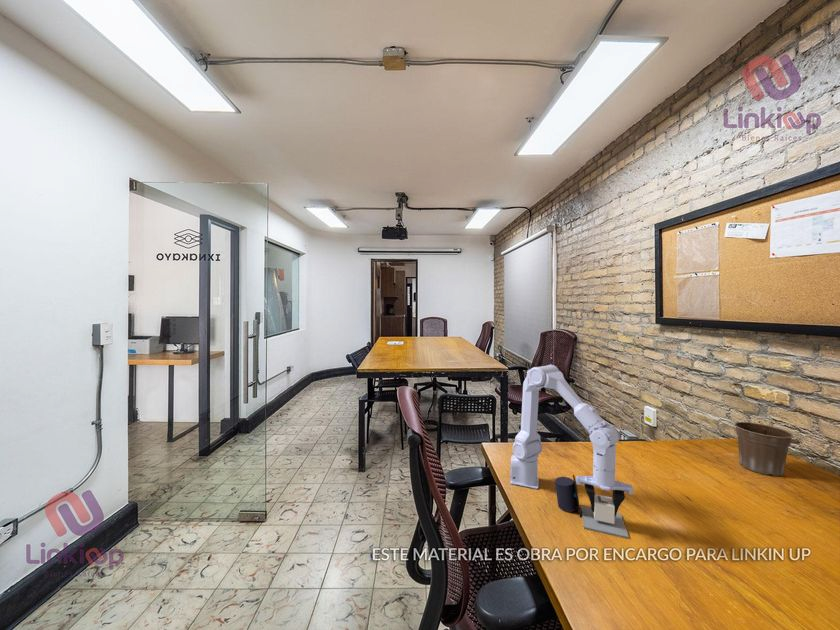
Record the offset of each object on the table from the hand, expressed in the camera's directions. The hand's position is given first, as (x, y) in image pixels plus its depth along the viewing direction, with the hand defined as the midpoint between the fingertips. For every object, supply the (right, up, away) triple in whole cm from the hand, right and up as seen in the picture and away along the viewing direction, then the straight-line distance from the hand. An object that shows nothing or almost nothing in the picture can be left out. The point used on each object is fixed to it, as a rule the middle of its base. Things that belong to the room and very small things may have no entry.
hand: (603, 512), depth 97 cm
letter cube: (0, -2, 0) cm, 2 cm away
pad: (0, -3, 0) cm, 3 cm away
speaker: (-8, -3, +6) cm, 10 cm away
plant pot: (+82, -3, +33) cm, 88 cm away
